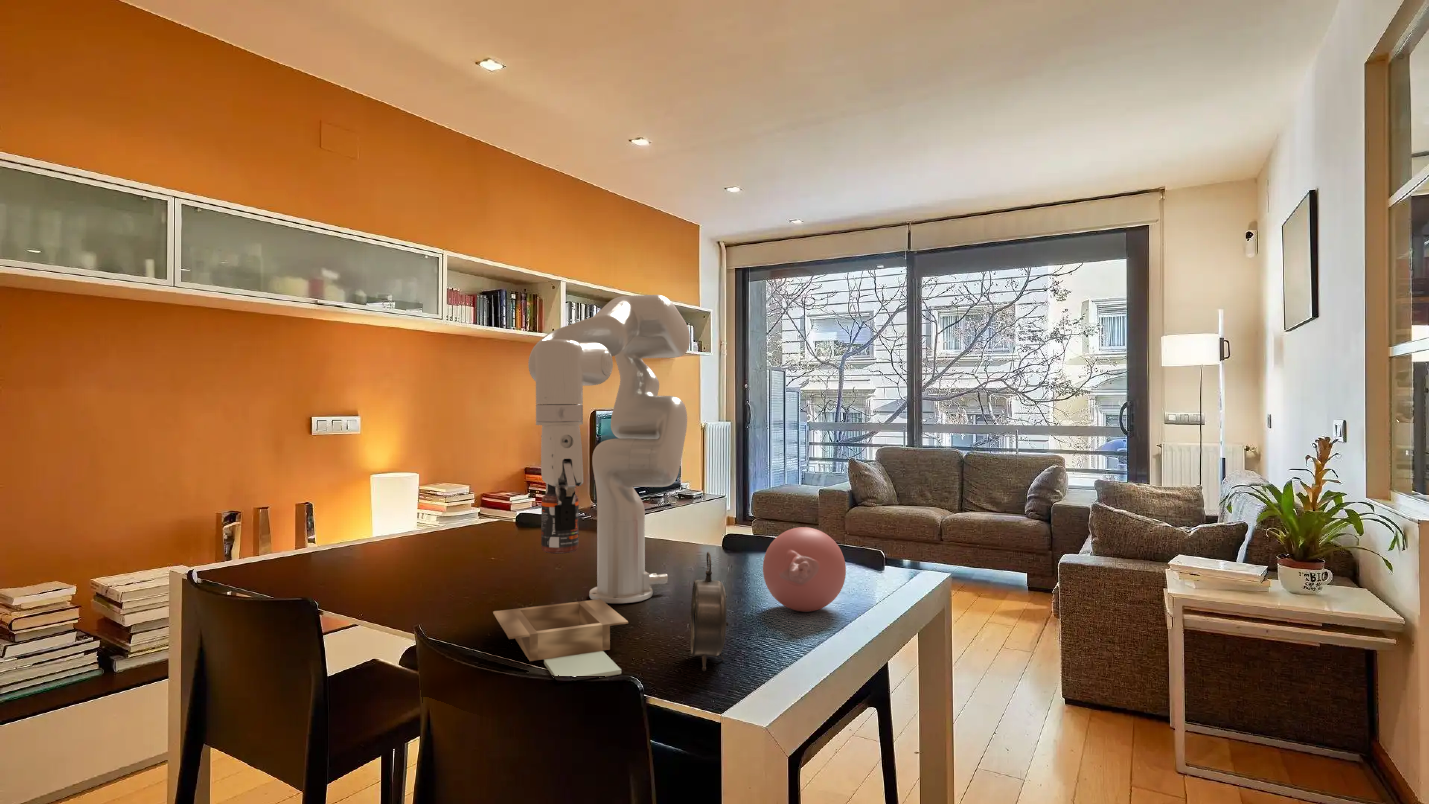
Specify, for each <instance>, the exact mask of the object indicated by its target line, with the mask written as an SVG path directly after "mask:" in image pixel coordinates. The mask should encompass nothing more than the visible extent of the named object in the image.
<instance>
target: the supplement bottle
mask: <svg viewBox="0 0 1429 804" xmlns="http://www.w3.org/2000/svg"><path fill="white" fill-rule="evenodd" d="M559 485H565V482H561V483H559ZM560 491H561V493H562V491H563V490H560ZM545 494H546V493H545ZM545 494H544V495H543V496H542V498H541V517H540V518H541V521H540V522H541V524H540V525H541V527H540V529H541V531H540V532H541V535H540V536H541V537H540V538H541V539H540V540H541V551H543V552H544V553H547V554H552V555H553V554H554V555H556V554H557V555H558V554H570V553H573V552H575V551H577V550H578V549H579V538H580V537H579V535H580V533H579V523H580V522H579V521H580V520H579V519H580V517H579V515H580V514H579V513H580V512H579V507H580V505H579V504H580V503H579V496H578V495H577V494H575V529H574V530H563V531H557V530H555V505H557V501H556V491H555V487H553V486H551V485H549V484H548V492H547V494H546V495H545Z"/></svg>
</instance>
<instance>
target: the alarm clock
mask: <svg viewBox="0 0 1429 804" xmlns="http://www.w3.org/2000/svg"><path fill="white" fill-rule="evenodd" d="M706 569H707V570H706V571H705V579H694V580H693V584H692V589H691V591H692V592H691V601H690V603H691V604H690V627H689V628H690V632H689V633H690V635H689V639H690V640H689V643H690V644H689V645H690V653H691V656H692V657H701V664H702V667H701V671H702V672H705V671H707V666H706V665H707V657H718V656H719V657H720V658H721V659H722V660H723V661H725V659H724V657H723V655H722V652H723V649H724V646H725V642H726V634H727V627H728V626H729V625H730V624H729V623H730V622H728V621H727V619H728V618H727V616H728V615H727V613H728V611H727V598H728V596H727V593H726V588H725V586H724V584H723V583H722V582H721V581H720V580H717V579H716V580H715V579H714V580H713V579H712V574H713V572H712V557H711V553H710V551H707V552H706Z"/></svg>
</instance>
